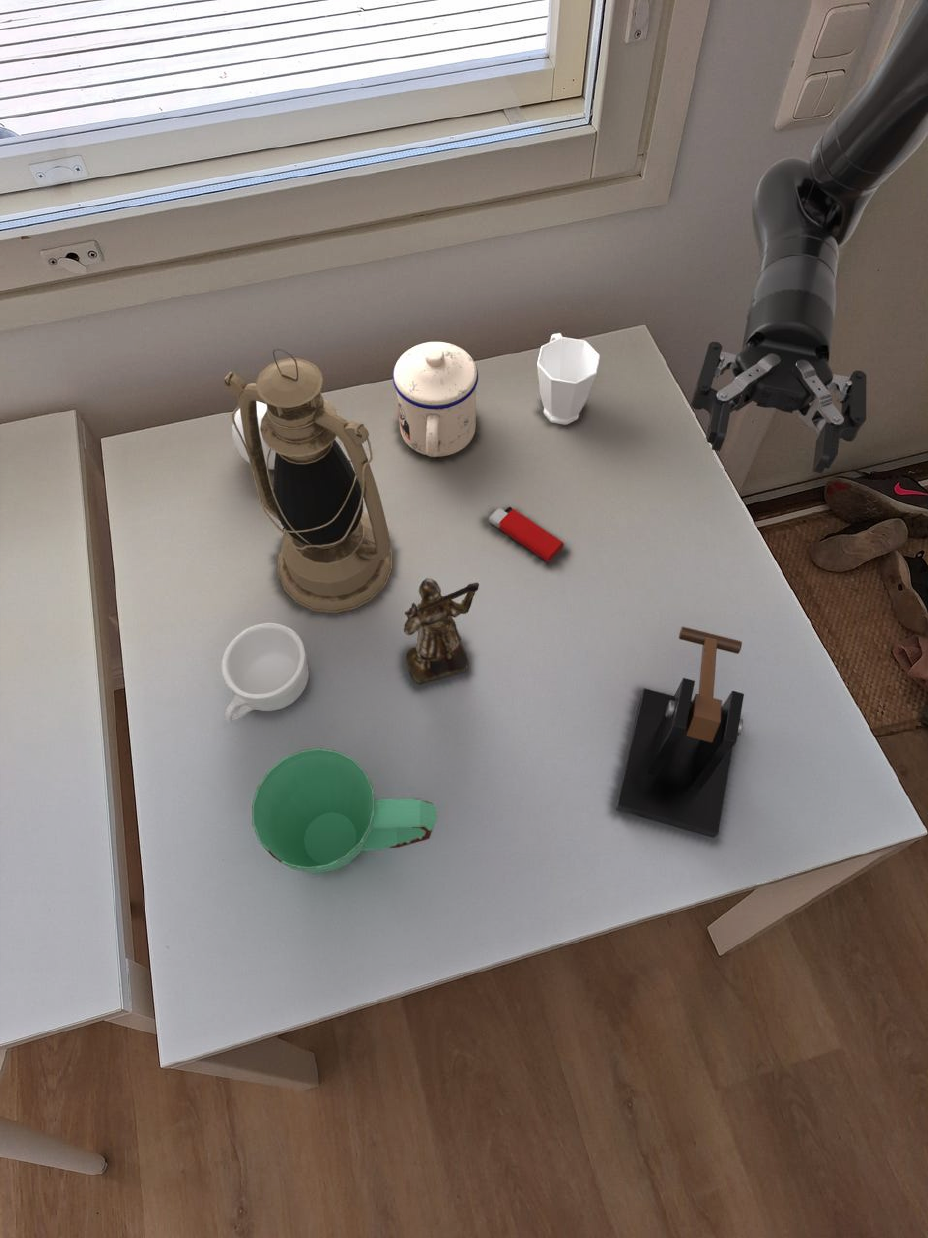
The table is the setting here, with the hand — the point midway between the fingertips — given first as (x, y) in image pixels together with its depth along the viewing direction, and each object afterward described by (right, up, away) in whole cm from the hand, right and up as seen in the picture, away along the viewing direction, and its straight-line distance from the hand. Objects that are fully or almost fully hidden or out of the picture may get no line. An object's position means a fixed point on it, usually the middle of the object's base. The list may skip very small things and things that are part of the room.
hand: (769, 455), depth 74 cm
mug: (-35, -33, +5) cm, 49 cm away
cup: (-14, +12, +30) cm, 35 cm away
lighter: (-19, -5, +21) cm, 28 cm away
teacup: (-45, -21, +12) cm, 51 cm away
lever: (-5, -20, +3) cm, 21 cm away
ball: (-47, +5, +26) cm, 54 cm away
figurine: (-27, -18, +14) cm, 35 cm away
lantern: (-39, -8, +19) cm, 44 cm away
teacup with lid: (-29, +7, +27) cm, 40 cm away
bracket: (-6, -27, +8) cm, 29 cm away
